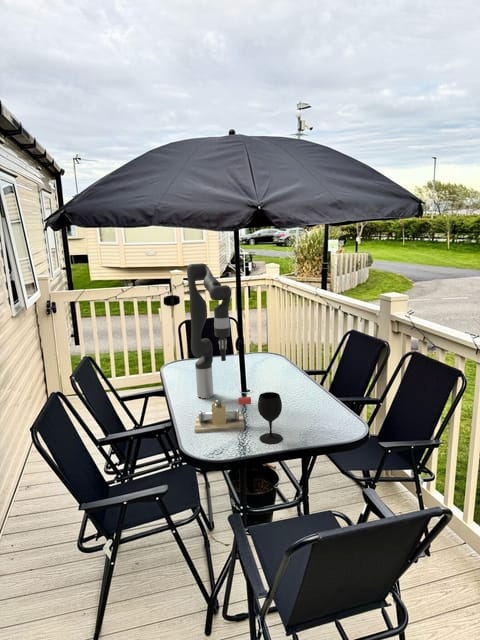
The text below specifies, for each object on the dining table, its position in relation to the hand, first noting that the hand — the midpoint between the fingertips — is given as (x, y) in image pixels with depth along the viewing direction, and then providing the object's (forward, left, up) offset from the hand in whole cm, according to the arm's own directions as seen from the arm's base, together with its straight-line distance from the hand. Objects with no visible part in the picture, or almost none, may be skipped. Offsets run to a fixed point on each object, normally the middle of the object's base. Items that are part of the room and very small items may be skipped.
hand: (223, 360), depth 212 cm
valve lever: (+12, +4, -19) cm, 22 cm away
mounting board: (+12, -3, -28) cm, 31 cm away
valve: (+12, -3, -27) cm, 29 cm away
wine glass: (+30, +20, -29) cm, 46 cm away
